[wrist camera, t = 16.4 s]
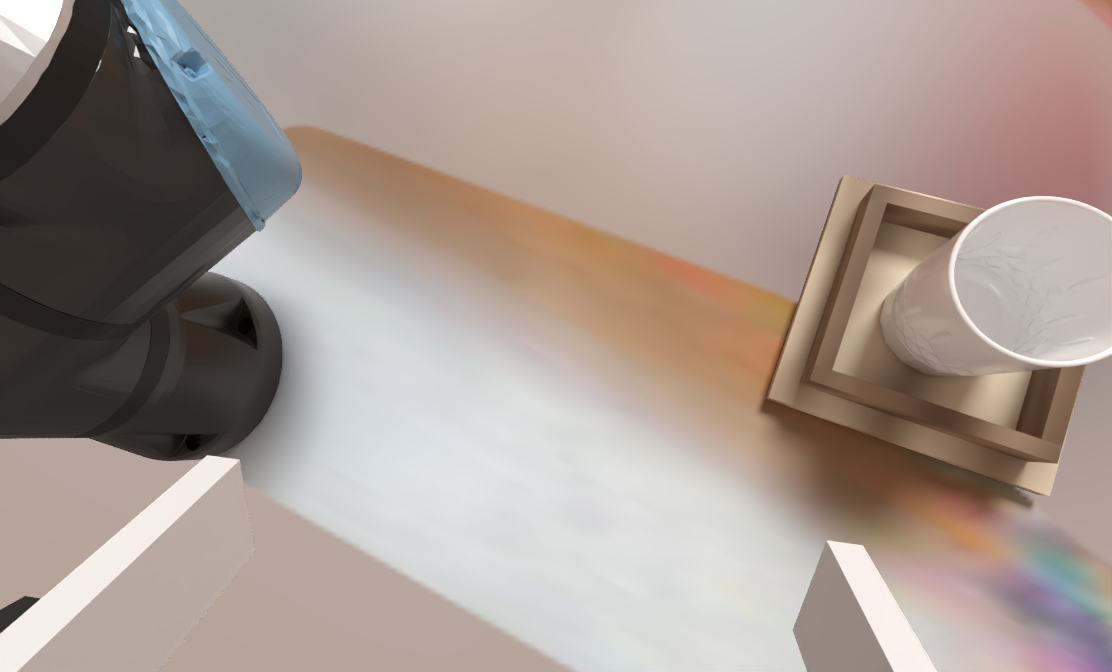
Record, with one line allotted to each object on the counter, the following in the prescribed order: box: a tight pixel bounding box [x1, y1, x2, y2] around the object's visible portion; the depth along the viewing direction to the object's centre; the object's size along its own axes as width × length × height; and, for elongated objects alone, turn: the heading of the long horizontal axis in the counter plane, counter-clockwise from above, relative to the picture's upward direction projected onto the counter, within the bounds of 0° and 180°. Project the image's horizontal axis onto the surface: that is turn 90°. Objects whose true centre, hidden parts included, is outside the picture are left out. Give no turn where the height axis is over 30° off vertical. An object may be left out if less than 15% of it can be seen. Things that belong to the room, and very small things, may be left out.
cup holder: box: [766, 175, 1086, 496], centre depth 33 cm, size 16×16×4 cm
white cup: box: [880, 196, 1112, 377], centre depth 29 cm, size 8×8×10 cm
